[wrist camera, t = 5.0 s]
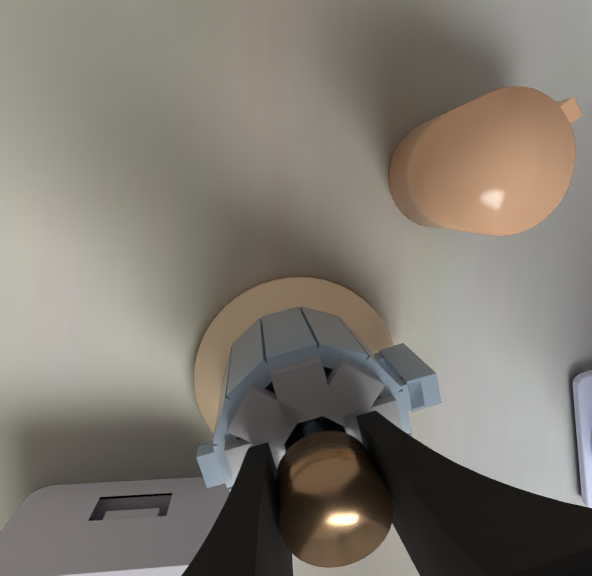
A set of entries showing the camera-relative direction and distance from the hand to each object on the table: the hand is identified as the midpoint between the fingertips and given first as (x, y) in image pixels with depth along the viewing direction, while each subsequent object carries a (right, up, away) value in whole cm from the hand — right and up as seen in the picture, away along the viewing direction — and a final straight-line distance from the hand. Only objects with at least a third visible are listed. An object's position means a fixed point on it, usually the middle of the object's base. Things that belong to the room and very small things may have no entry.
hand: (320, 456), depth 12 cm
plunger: (-1, +1, +5) cm, 5 cm away
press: (-1, +1, +6) cm, 6 cm away
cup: (+5, +10, +5) cm, 12 cm away
